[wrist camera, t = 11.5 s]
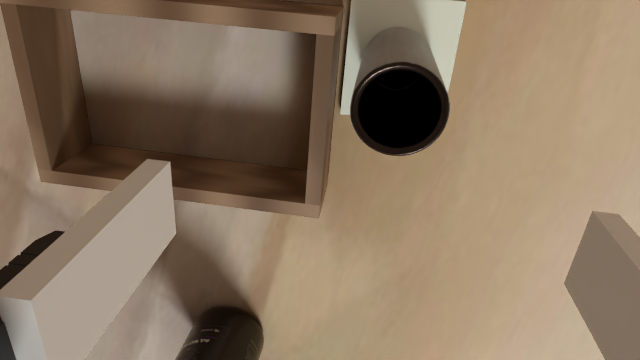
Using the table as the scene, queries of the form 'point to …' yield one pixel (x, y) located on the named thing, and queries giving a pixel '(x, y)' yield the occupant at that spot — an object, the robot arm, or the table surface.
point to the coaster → (410, 12)
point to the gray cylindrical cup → (399, 94)
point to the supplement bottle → (223, 337)
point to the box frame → (186, 171)
